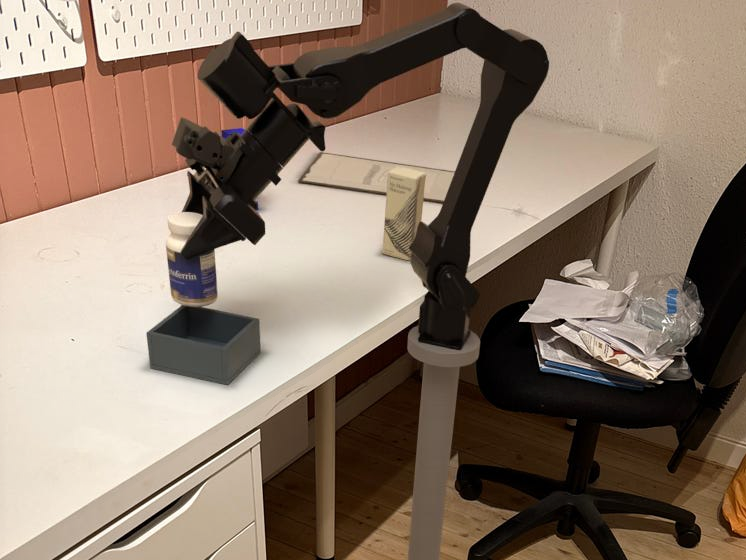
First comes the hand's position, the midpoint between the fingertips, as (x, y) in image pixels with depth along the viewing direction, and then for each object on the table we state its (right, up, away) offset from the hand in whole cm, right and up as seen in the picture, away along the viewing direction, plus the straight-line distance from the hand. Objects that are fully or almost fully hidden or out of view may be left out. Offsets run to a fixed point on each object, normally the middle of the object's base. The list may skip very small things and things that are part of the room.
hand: (178, 247), depth 116 cm
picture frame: (+18, +43, +72) cm, 86 cm away
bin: (+2, -12, +5) cm, 14 cm away
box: (+24, +16, +42) cm, 50 cm away
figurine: (-5, +27, +50) cm, 57 cm away
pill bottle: (+1, -5, +5) cm, 7 cm away
